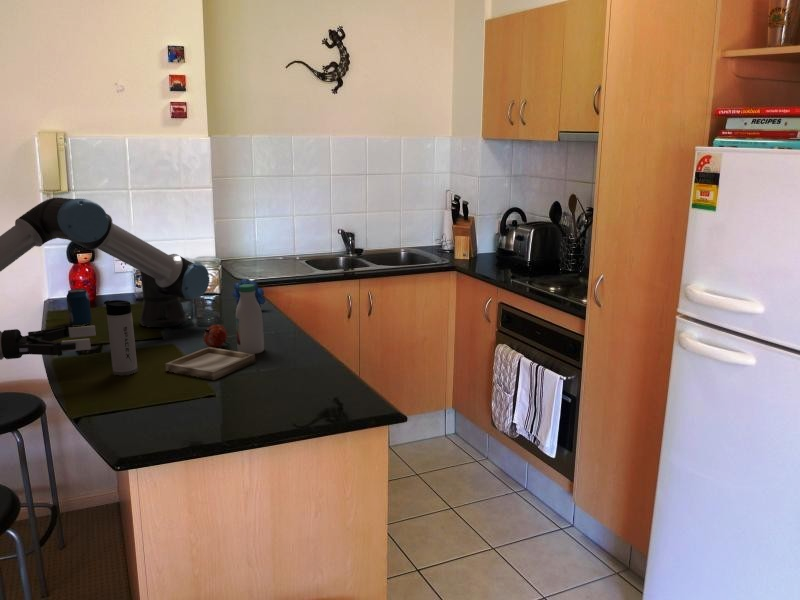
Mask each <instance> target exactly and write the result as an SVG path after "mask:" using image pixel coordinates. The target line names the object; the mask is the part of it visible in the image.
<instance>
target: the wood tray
mask: <svg viewBox="0 0 800 600" xmlns="http://www.w3.org/2000/svg"><path fill="white" fill-rule="evenodd" d="M254 363H256V354H249V353H243V352H238V350H236V351H235V350H231V349H230V350H229V349H223V348H219V349H218V348H212V347H209V346H207V347H206V348H201V349H199V350H197V351H194V352H191V353H190V354H186V355H184V356H180V357H179V358H176V359H174V360H171V361H169V362H168V361H167V362H166V363H164V364H165V366H164V367H165V371H166V372H167V371H169V372H168V373H172V372H174V373H173V374H178V373H180V374H179V375H183V374H185V376H189V375H191V376H190V377H194V376H196V378H199V377H201V378H200V379H205V378H206V379H207V380H210V379H211V380H212V381H216V380H218V379H220V378H222V377H225V376H226V375H230V374H231V373H233V372H236V371H238V370H241V369H243V368H245V367H247V366H249V365H251V364H254Z"/></svg>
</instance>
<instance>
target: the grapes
mask: <svg viewBox="0 0 800 600" xmlns="http://www.w3.org/2000/svg"><path fill="white" fill-rule="evenodd" d="M243 284H253V285H255V297H256V300H257V302H258V304H259V306H260V308H261V309H262V306H261V305H264V304H265V303H266V298H265V297H264V295H265V291H264V289H263V288H261V287H258V283H257V282H256V281H254V280H251V281H250V282H249V280H248V279H246V278H243V279H241V280H240V283H239V282H235V283H234V284H233V288H234V289H235V290H234V291H232V293H231V294H232V297H233V298H234V299H236V306H238V303H239V300H240V293H239V286H240V285H243Z"/></svg>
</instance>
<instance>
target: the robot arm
mask: <svg viewBox="0 0 800 600" xmlns="http://www.w3.org/2000/svg"><path fill="white" fill-rule="evenodd" d="M14 221H15V222H14V226H12V227H11V228H9V229H7V230H6V231H4V233H2V234H1V235H0V273H1V272H2V271H4V270H5V269H7V267H9V266H10V265H12V264H13V263H14V262H15V261H17V260H18V259H20V258H21V257H22V256H24V255H25V254H26V253H27V252H30V250H32V249H33V248H34V247H42V246H43V245H45V244H46V243H48V242H50V241H51V240H55V239H62V240H68V241H70V242H72V243H73V244H74V243H75V244H77V245H78V246H80V247H82V248H84V249H86V250H89V251H94V250H96V249H98V250H100V251H102V252H104V253H105V254H107V255H109V256H111V257H113V258H115V259H117V260H118V261H121V262H122V263H124V264H126V265H128V266H130V267H132V268H134V269H136V270H138V271H139V272H140V279H141V289H142V297H143V298H142V299H143V303H142V308H141V315H140V316H139V324H140V323H141V324H142V325H144V326H150V327H162V328H171V327H175V326H180V325H182V324H184V323H186V322H187V313H186V311H185V310H184V307H183V304H182V303H181V299H180V298H185V299H187V300H195V299H199V298H201V297H202V296H204V294H205V293H206V292H207V290H208V288H209V284H210V276H209V270H208V269H207V267H206V266H205V265H203V264H201V263H199V262H192V261H191V260H188V259H186V258H184V257H183V256H181V255H179V254H178V253H171V254H167V253H166V252H164V251H163V250H161V249H159V248H157V247H156V246H153V245H152V244H150V243H149V242H147V241H145V240H143V239H142V238H140V237H138V236H136V235H134V234H133V233H131V232H129V231H127V230H125V229H124V228H122V227H120V226H118V225H117V224H115V223H113V218H112V216H111V215H110V214H108V213H107V211H106V210H105V209H104V208H103V207H102V206H101V205H100V204H98V203H97V202H94V201H92V200H91V199H86V198H69V197H68V198H67V197H66V198H65V197H52V198H49V199H46V200H43V201H42V202H40V203H38V204H37V205H35V206H34V207H32V208H31V209H29V210H27V212H25V213H23V214H22V215H20V216H19V217H18V218H17V219H15V220H14ZM96 335H97V334H96V326H95V325H87V326H81V327H74V326H72V327H70V325H69V324H64V325H62V326H58V327H53V328H46V329H41V330H35V331H28V332H27V335H24V336H23V335H22V332H21V330H20V329H17V328H14V329H5V330H3V331H2V330H0V361H2V360H4V359H6V360H12V359H14V360H15V359H20V358H22V356H24V355H25V356H26V355H38V356H42V355H43V356H58V357H60V356H61V357H62V356H63V353H67V352H77V351H78V352H79V351H86V350H87V351H88V350H91V349H92V346H91V339H90V338H89V337H93V336H94V337H95V336H96ZM83 337H84V338H83ZM85 337H88V338H85ZM66 338H69V339H70V338H72V339H70V340H69V339H68V340H61V339H66ZM74 338H79V339H74ZM80 338H81V339H80ZM58 340H61V342H59V341H58Z"/></svg>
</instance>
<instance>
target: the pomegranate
mask: <svg viewBox="0 0 800 600" xmlns="http://www.w3.org/2000/svg"><path fill="white" fill-rule="evenodd" d="M203 332H204V334H203V342H204V344H205V345H206V346H207V347H212V348H218V349H222V347H223V346H224V343H225V344H227V345H230V344H229V343H228V342H226V341H227V340H228V332H227V329H226V328H225V327H224V326H223V325H221V324H211V325H210V326H208V327H207V328H206V329H204V330H203Z"/></svg>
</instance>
